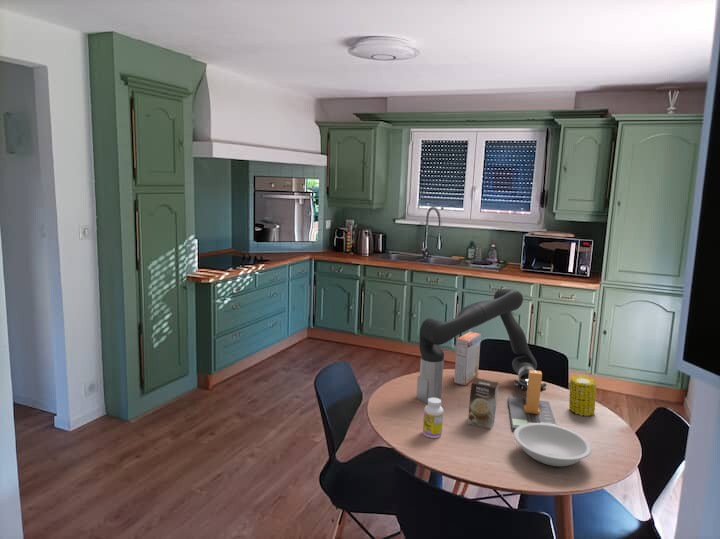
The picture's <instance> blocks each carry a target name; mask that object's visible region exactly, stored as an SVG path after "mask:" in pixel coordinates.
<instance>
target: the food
mask: <svg viewBox="0 0 720 539" xmlns="http://www.w3.org/2000/svg"><path fill="white" fill-rule="evenodd" d="M569 383H570V384H569V394H568V395H569V398H568V399H569V410H570V411H571V412H572V413H575V414H576V415H579V416H582V417H583V416H584V417H587V416H592V415H594V414H595V410H596V399H597V398H596V397H597V395H596V393H597V392H596V391H597V388H596V387H597V383H596V380H595V379H593V378H591V377H590V376H586V375H584V374H583V375H580V374H579V375H574V376H571V377H570V381H569Z"/></svg>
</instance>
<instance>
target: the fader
mask: <svg viewBox="0 0 720 539" xmlns="http://www.w3.org/2000/svg"><path fill="white" fill-rule="evenodd" d="M542 380H543V373H542V371H541V370H536V369H535V370H529V377H528V386H527V391H526V397H525V399H526V405H524V412H526V413H534V414H540V410H539V400H540V397H541V392H540V390H541V384H542Z"/></svg>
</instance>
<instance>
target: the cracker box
mask: <svg viewBox="0 0 720 539" xmlns="http://www.w3.org/2000/svg"><path fill="white" fill-rule="evenodd" d="M481 338H482V337H481V333H478V332H474V331H469V332H468V331H467V333H464V334H463V335H461V336H459V337H458V338H456V345H455V346H456V348H455V365H454V380H453V383H454V384H458V385H460V386H461V385H462V386H467V385H469V384H470V383H472V382H473V380H474V378H479V377H478V376H479V366H480V365H479V364H480V350H481Z"/></svg>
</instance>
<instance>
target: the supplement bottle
mask: <svg viewBox="0 0 720 539" xmlns="http://www.w3.org/2000/svg"><path fill="white" fill-rule="evenodd" d="M423 411H424V413H423V424H422V425H423V426H422V434H423V435H424V437H427V438H429V437H430V439H437V438H440V437H441V436H442V434H443V423H444V408H443V407H442V399H441V400H440V399H438V398H429V399H428V403H427V405H426V406H425V407H424V410H423Z"/></svg>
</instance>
